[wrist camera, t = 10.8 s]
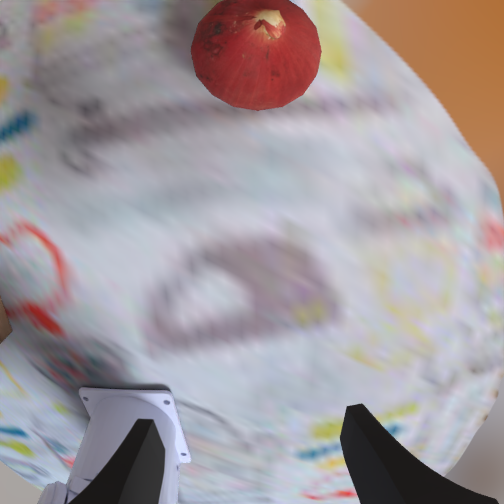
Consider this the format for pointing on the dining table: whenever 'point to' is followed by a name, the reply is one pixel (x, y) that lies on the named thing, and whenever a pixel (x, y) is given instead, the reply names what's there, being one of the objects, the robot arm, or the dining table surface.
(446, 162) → the dining table surface
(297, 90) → the pomegranate
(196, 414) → the dining table surface
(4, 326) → the walnut block
